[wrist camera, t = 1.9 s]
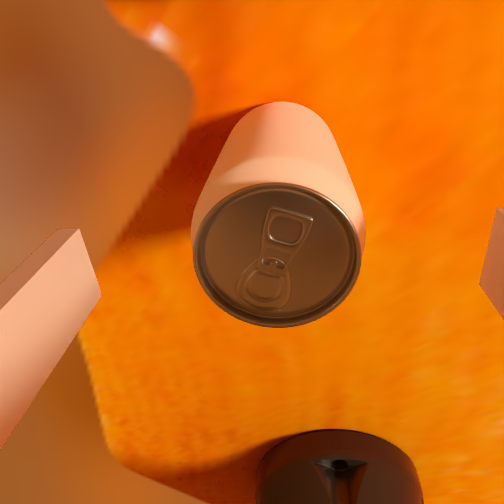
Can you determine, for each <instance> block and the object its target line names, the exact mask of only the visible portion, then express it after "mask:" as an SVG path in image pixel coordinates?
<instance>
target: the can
mask: <svg viewBox="0 0 504 504" xmlns="http://www.w3.org/2000/svg"><path fill="white" fill-rule="evenodd" d="M365 236H366V231H365V221H364V216H363V212H362V208H361V205H360V202H359V199H358V197H357V194H356V191H355V189H354V186H353V184H352V181H351V179H350V176H349V174H348V171H347V169H346V166H345V164H344V161H343V159H342V156H341V154H340V151H339V149H338V147H337V144H336V142H335V139H334V137H333V135H332V133H331V131H330V129H329V128H328V126H327V125H326V123H325V122H324V121H323V120H322V119H321V118H320V117H319V116H318V115H317V114H316V113H314V112H313V111H312V110H310V109H308V108H306V107H304V106H302V105H299V104H296V103H291V102H272V103H267V104H264V105H261V106H259V107H256V108H255V109H253V110H251V111H250V112H248V113H247V114H246V115H244V116H243V117H242V118H241V119H240V120H239V121H238V122H237V124H236V125H235V126H234V128H233V130H232V131H231V133H230V135H229V137H228V139H227V141H226V143H225V144H224V146H223V148H222V150H221V152H220V155H219V157H218V159H217V161H216V163H215V165H214V167H213V169H212V171H211V173H210V175H209V177H208V179H207V181H206V183H205V185H204V188H203V190H202V192H201V194H200V196H199V199H198V201H197V204H196V206H195V210H194V213H193V218H192V223H191V242H192V248H193V262H194V268H195V272H196V275H197V278H198V280H199V282H200V284H201V286H202V288H203V289H204V291H205V292H206V294H207V295H208V296H209V298H210V299H211V300H212V301H213V302H214V303H215V304H216V305H217V306H218V307H220V308H221V309H222V310H224V311H225V312H226V313H228V314H230V315H231V316H233V317H235V318H237V319H239V320H242V321H244V322H247V323H250V324H253V325H258V326H263V327H272V328H285V327H294V326H299V325H303V324H307V323H310V322H312V321H315V320H317V319H319V318H321V317H323V316H325V315H327V314H328V313H330V312H331V311H332V310H334V309H335V308H336V307H337V306H339V305H340V304H341V303H342V302H343V301H344V300H345V298H346V297H347V296H348V295H349V293H350V292H351V290H352V288H353V287H354V285H355V283H356V280H357V278H358V275H359V271H360V267H361V257H362V254H363V251H364V246H365Z"/></svg>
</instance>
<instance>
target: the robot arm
mask: <svg viewBox="0 0 504 504" xmlns="http://www.w3.org/2000/svg"><path fill="white" fill-rule="evenodd" d="M479 285H480V286H481V288H482V289H483V290H484V292H485V293H486V295H487V296H488V298H489V299H490V301H491V302H492V303H493V305H494V306H495V308H496V309H497V311H498V312H499V313H500V315H501V316H502V318H503V319H504V208H497V210H496V214H495V218H494V223H493V227H492V231H491V236H490V240H489V244H488V249H487V253H486V257H485V262H484V266H483V270H482V274H481V279H480V283H479ZM101 296H102V294H101V291H100V288H99V285H98V282H97V279H96V276H95V273H94V270H93V267H92V264H91V261H90V258H89V255H88V253H87V250H86V247H85V244H84V241H83V238H82V235H81V232H80V229H79V228H72V229H57V230H56V231H55V232H54V233H53V234H52V235H51V236H50V237H49V238H48V239H47V240H46V241H45V242H44V243H42V245H40V246H39V247H38V248H37V249H36V250H35V251H34V252H33V253H32V254H31V255H30V256H29V257H28V258H27V259H26V260H25V261H23V262H22V263H21V264H20V265H19V266H18V267H17V268H16V269H15V270H14V271H13V272H12V273H11V274H10V275H9V276H8V277H7V278H6V279H4V280H3V281H2V282H1V283H0V450H1V448H2V447H3V445H4V444H5V442H6V440H7V439H8V438H9V436H10V434H11V433H12V431H13V430H14V428H15V427H16V425H17V424H18V422H19V421H20V419H21V418H22V416H23V415H24V413H25V412H26V410H27V409H28V407H29V406H30V404H31V403H32V401H33V399H34V398H35V396H36V395H37V393H38V392H39V390H40V389H41V387H42V386H43V384H44V383H45V381H46V380H47V378H48V377H49V375H50V373H51V372H52V370H53V369H54V367H55V366H56V364H57V363H58V361H59V360H60V358H61V357H62V355H63V354H64V352H65V351H66V349H67V348H68V346H69V345H70V343H71V341H72V340H73V338H74V337H75V335H76V334H77V332H78V331H79V329H80V328H81V326H82V325H83V323H84V322H85V320H86V319H87V317H88V315H89V314H90V312H91V311H92V309H93V308H94V306H95V305H96V303H97V302H98V300H99V299H100V297H101ZM255 499H256V504H424V500H423V493H422V489H421V485H420V482H419V478H418V475H417V471H416V468H415V466H414V464H413V462H412V461H411V459H410V458H409V457H408V456H407V455H406V454H405V453H404V452H403V451H402V450H401V449H399V448H398V447H396V446H395V445H393V444H391V443H389V442H387V441H385V440H383V439H380V438H378V437H375V436H371V435H368V434H363V433H358V432H351V431H320V432H313V433H308V434H304V435H300V436H297V437H294V438H291V439H289V440H286V441H284V442H282V443H281V444H279V445H277V446H276V447H274V448H273V449H272V450H270V451H269V452H268V453H267V454H266V455H265V456H264V458H263V459H262V461H261V462H260V464H259V467H258V470H257V476H256V492H255Z"/></svg>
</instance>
